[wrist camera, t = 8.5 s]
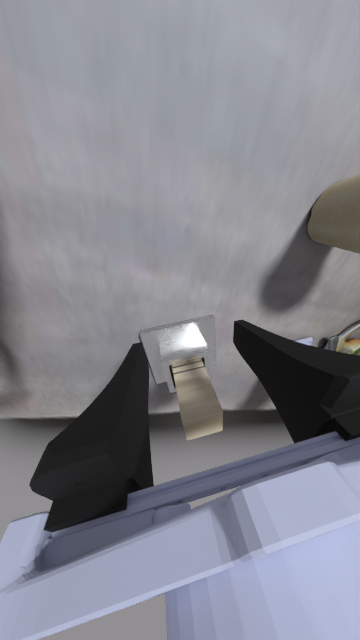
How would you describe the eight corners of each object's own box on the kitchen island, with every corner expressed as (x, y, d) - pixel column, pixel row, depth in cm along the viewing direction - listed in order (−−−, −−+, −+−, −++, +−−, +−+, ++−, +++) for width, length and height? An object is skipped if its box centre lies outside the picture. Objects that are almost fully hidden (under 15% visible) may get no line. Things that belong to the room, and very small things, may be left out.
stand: (214, 365, 29) (225, 388, 25) (156, 379, 28) (157, 405, 24) (212, 314, 24) (226, 333, 19) (139, 330, 23) (138, 353, 18)
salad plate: (289, 359, 33) (308, 376, 29) (371, 293, 28) (408, 304, 24) (323, 385, 42) (342, 401, 38) (391, 338, 36) (421, 351, 33)
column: (200, 370, 25) (222, 430, 17) (174, 376, 24) (186, 440, 17) (198, 350, 22) (223, 410, 15) (170, 357, 22) (181, 421, 15)
